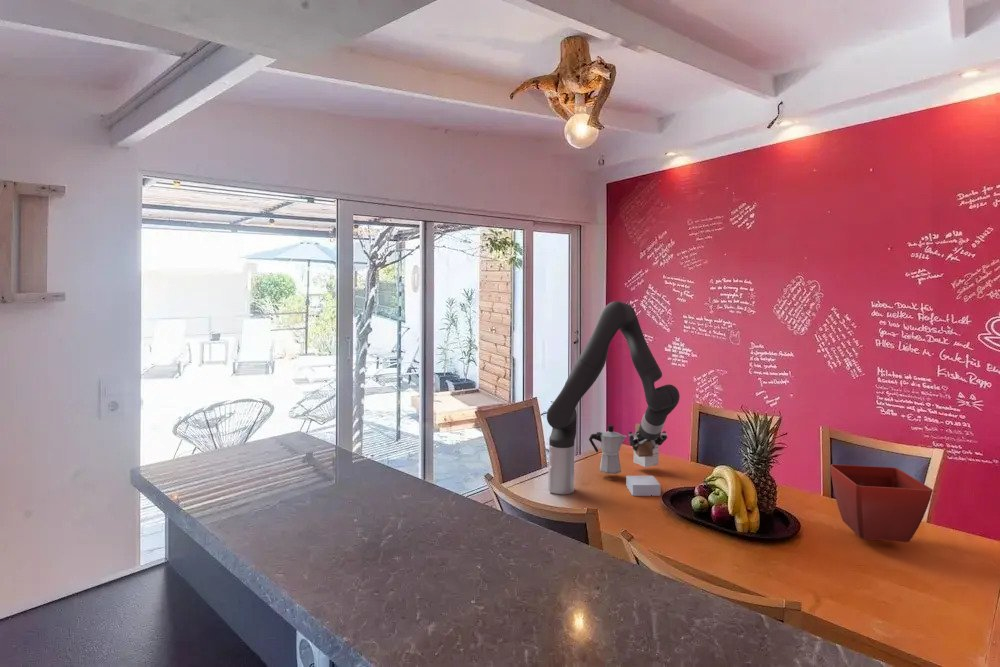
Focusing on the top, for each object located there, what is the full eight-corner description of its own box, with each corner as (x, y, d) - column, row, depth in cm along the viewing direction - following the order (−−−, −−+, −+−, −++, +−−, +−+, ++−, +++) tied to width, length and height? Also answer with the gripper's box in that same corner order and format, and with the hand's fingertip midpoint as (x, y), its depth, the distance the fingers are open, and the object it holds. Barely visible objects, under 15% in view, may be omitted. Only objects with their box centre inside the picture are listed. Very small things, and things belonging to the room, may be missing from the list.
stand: (632, 495, 197) (632, 485, 197) (626, 486, 207) (626, 475, 207) (660, 495, 197) (660, 484, 197) (652, 485, 207) (652, 475, 207)
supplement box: (632, 462, 226) (633, 432, 225) (647, 460, 229) (647, 430, 228) (644, 467, 219) (645, 436, 218) (659, 465, 222) (659, 434, 221)
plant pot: (931, 549, 149) (934, 489, 148) (854, 544, 153) (857, 485, 151) (894, 520, 168) (896, 467, 167) (826, 516, 172) (828, 464, 170)
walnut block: (638, 456, 198) (639, 426, 198) (635, 452, 203) (635, 423, 203) (652, 456, 198) (652, 426, 198) (648, 452, 203) (649, 423, 203)
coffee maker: (625, 467, 220) (625, 423, 219) (628, 474, 211) (628, 428, 210) (587, 466, 222) (588, 422, 220) (589, 473, 213) (589, 427, 212)
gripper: (670, 414, 192) (659, 439, 205) (629, 415, 192) (621, 439, 205) (675, 433, 187) (663, 457, 200) (633, 434, 187) (624, 458, 200)
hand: (642, 448), depth 203 cm, fingers closed on walnut block, 5 cm apart
